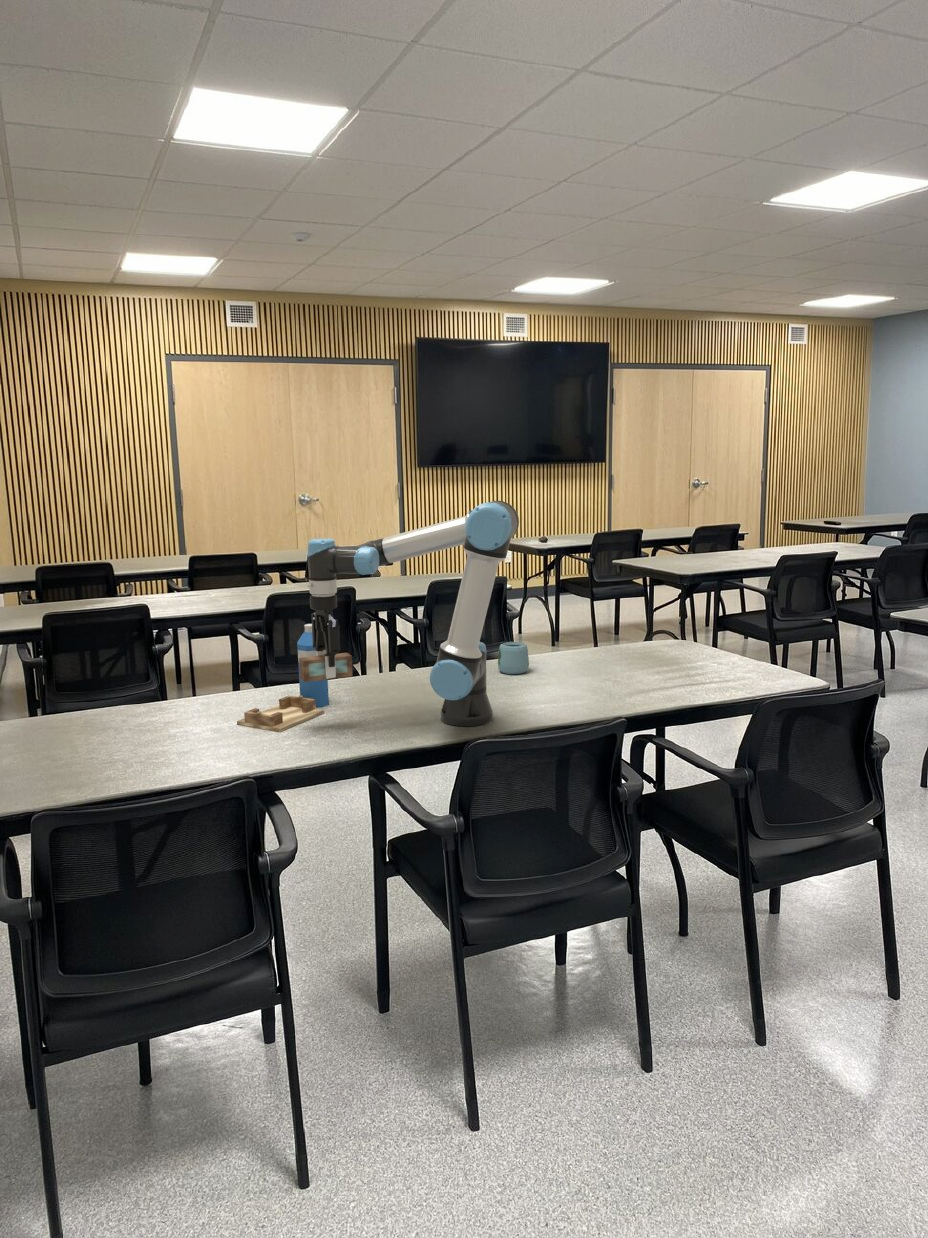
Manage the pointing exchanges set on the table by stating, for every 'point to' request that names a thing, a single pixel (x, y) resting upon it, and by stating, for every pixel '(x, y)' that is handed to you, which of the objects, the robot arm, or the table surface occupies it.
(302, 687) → the water bottle
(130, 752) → the table surface
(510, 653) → the mug
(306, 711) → the cleat board
